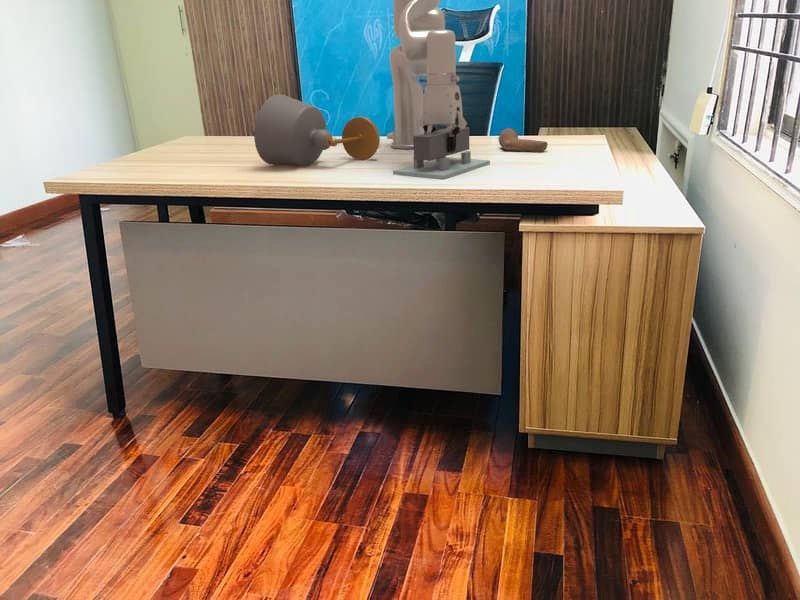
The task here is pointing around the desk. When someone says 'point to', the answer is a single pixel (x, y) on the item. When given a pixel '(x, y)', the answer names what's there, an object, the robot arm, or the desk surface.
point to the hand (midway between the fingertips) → (442, 150)
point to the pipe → (519, 142)
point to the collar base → (442, 167)
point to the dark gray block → (438, 144)
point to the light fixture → (307, 133)
